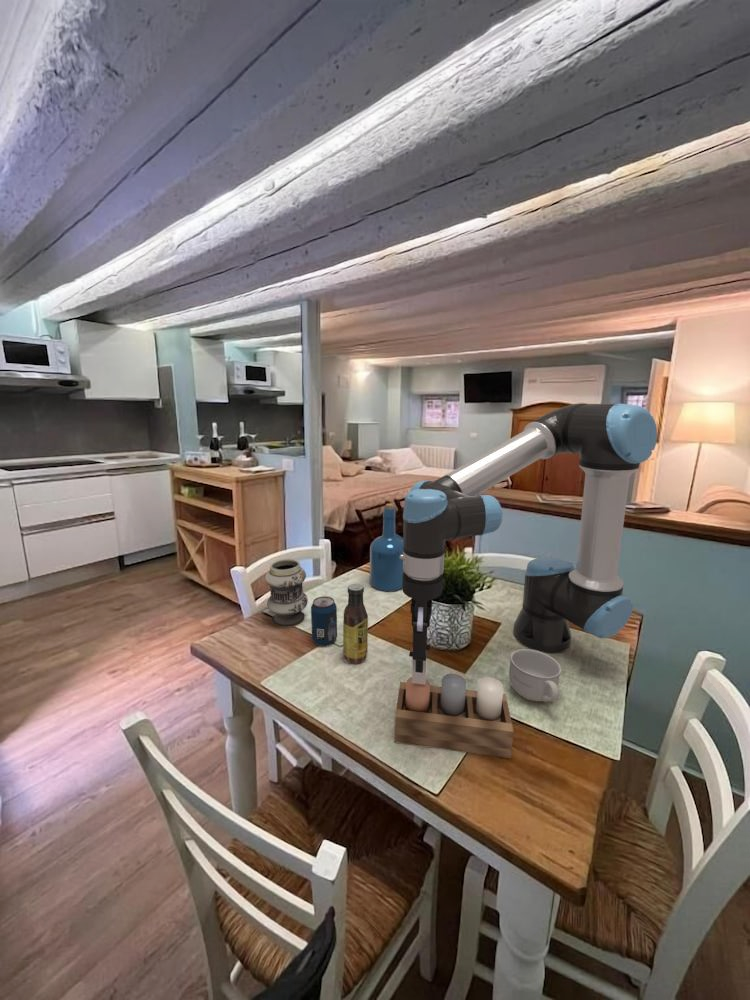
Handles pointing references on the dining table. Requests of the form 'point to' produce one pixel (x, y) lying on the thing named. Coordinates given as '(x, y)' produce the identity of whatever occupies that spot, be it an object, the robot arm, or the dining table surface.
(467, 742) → the wooden compartment box
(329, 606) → the soda can
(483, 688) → the white egg
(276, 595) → the apothecary jar
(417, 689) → the peach egg
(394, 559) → the wine bottle
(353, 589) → the sauce bottle
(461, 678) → the grey rounded cylinder
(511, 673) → the teacup
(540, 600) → the robot arm
